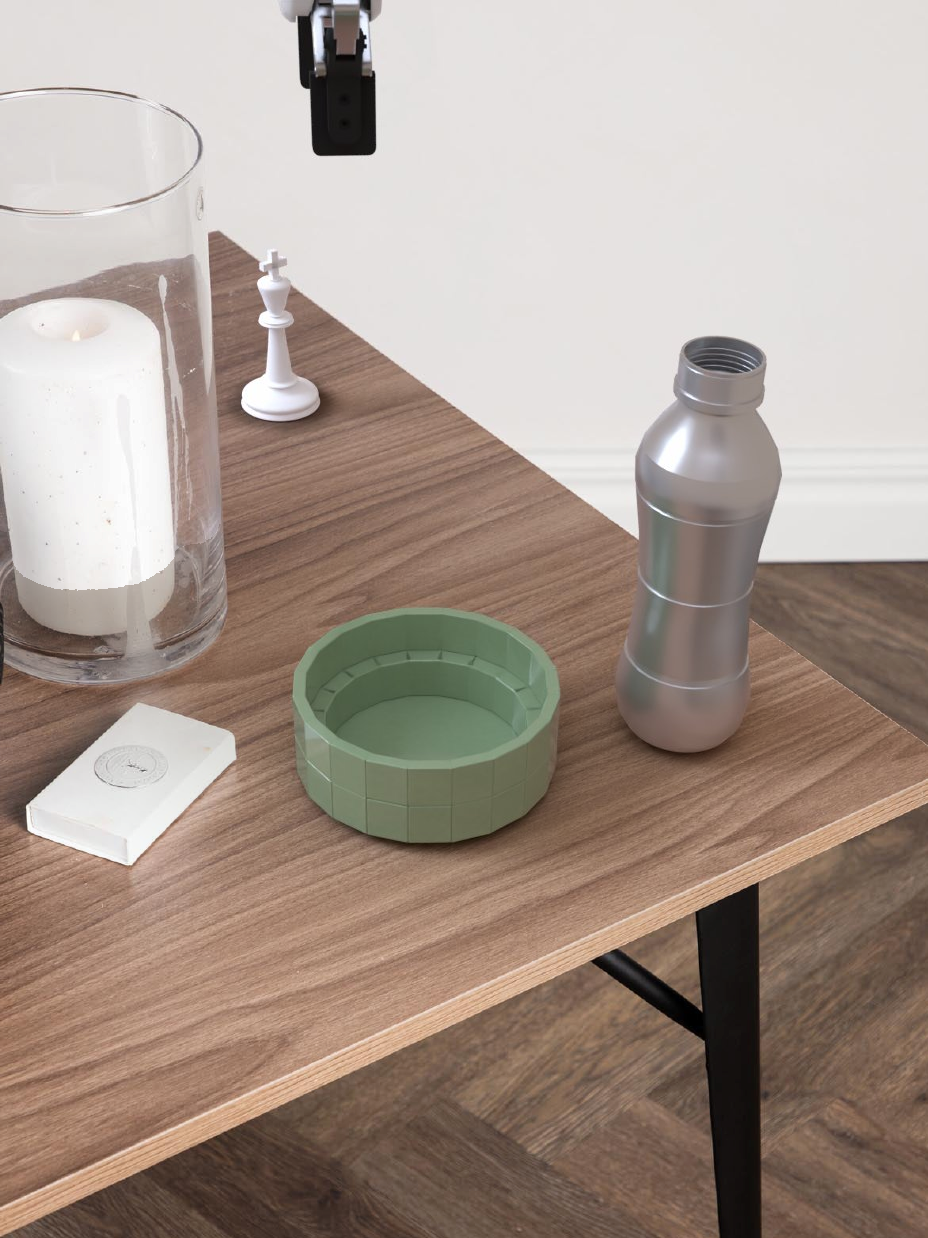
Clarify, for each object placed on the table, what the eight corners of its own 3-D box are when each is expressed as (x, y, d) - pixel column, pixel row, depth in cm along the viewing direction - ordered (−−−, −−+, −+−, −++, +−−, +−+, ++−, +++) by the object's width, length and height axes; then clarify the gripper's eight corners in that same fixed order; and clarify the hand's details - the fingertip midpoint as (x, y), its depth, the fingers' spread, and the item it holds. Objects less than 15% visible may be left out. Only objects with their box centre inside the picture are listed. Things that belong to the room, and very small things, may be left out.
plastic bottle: (689, 788, 81) (742, 409, 68) (582, 725, 85) (613, 351, 71) (770, 729, 85) (834, 358, 72) (664, 670, 88) (707, 306, 75)
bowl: (260, 823, 78) (253, 738, 75) (345, 670, 87) (343, 588, 84) (518, 876, 76) (523, 791, 73) (578, 714, 85) (585, 632, 82)
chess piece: (225, 399, 108) (213, 246, 101) (289, 376, 111) (281, 226, 104) (271, 429, 105) (262, 275, 99) (335, 406, 108) (330, 254, 101)
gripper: (237, -293, 85) (257, 64, 96) (252, -219, 72) (273, 183, 83) (388, -289, 86) (390, 64, 97) (430, -216, 73) (426, 181, 84)
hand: (336, 118), depth 90 cm, fingers open, 9 cm apart
